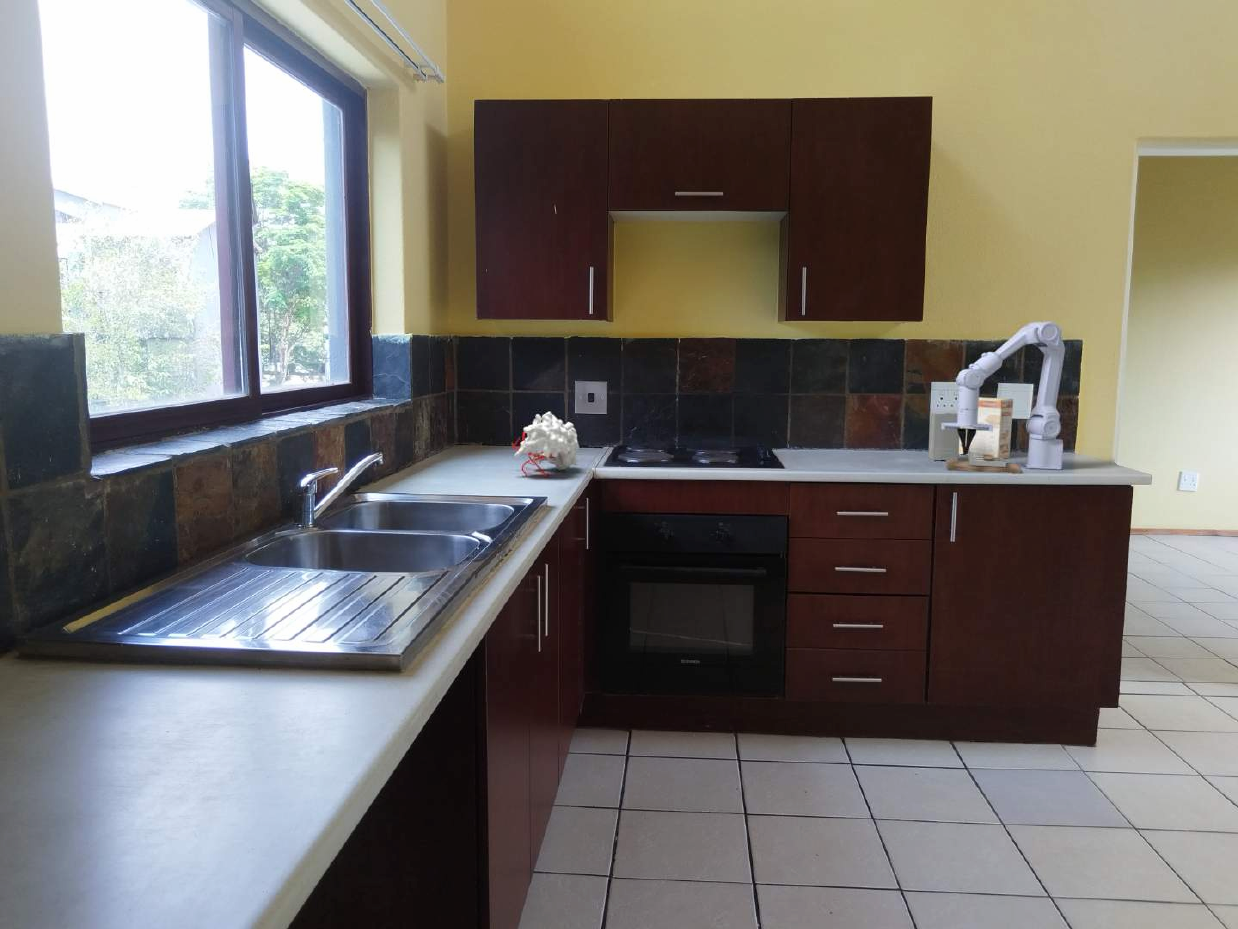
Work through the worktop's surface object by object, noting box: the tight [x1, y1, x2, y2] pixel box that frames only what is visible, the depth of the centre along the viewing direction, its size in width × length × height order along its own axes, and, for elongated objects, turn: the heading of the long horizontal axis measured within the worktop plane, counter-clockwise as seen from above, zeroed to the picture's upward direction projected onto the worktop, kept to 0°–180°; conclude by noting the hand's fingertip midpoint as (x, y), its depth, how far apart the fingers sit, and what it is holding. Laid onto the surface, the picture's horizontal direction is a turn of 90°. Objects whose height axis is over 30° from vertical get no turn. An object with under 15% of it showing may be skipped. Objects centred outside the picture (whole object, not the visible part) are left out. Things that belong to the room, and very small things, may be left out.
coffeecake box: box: [959, 396, 1014, 459], centre depth 302 cm, size 15×7×20 cm, turn 34°
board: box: [945, 455, 1021, 474], centre depth 273 cm, size 20×14×4 cm
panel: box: [967, 448, 1007, 467], centre depth 273 cm, size 10×11×4 cm
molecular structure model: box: [511, 411, 580, 478], centre depth 255 cm, size 20×18×25 cm
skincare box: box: [928, 410, 960, 461], centre depth 291 cm, size 8×7×16 cm
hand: (965, 454), depth 275 cm, fingers closed
